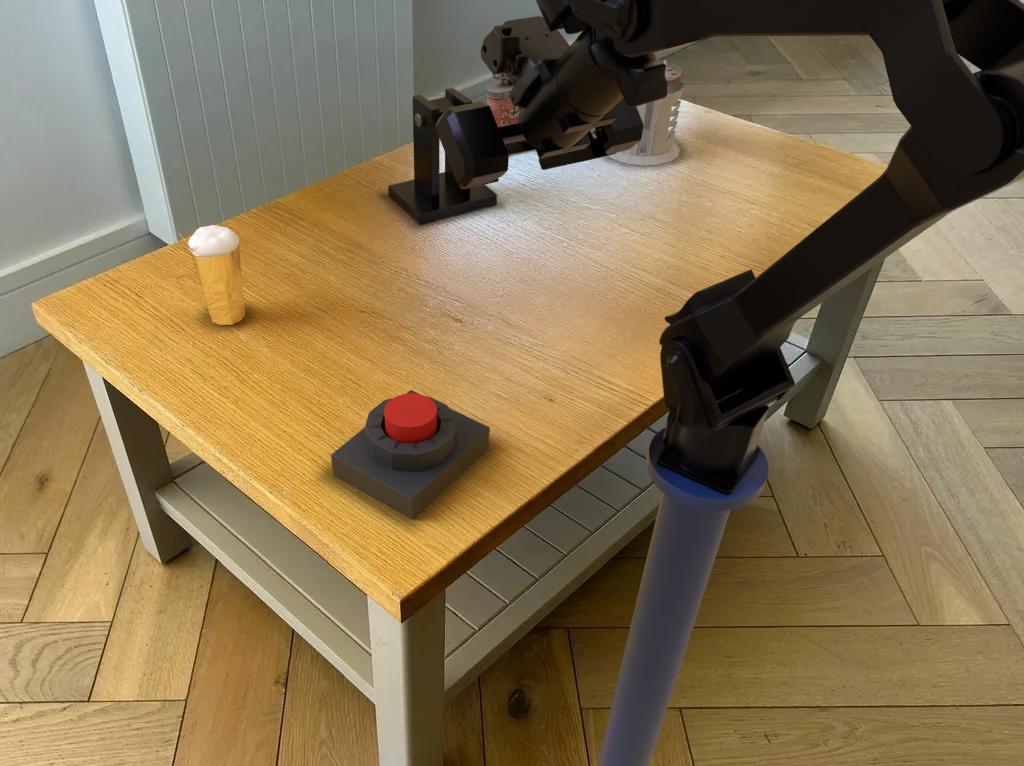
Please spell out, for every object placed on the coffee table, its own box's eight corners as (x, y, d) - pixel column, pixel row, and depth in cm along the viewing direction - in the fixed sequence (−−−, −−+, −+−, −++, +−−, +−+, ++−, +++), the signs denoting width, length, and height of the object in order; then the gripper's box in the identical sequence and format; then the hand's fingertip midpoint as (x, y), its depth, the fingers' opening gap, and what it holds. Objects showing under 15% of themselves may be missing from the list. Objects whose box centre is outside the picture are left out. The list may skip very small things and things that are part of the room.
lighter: (523, 128, 118) (528, 49, 112) (541, 136, 117) (547, 57, 110) (478, 145, 115) (480, 65, 108) (496, 154, 113) (499, 73, 106)
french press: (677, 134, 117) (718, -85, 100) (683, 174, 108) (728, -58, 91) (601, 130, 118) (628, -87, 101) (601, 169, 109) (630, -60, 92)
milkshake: (188, 318, 87) (166, 224, 80) (235, 298, 89) (219, 205, 82) (211, 338, 84) (191, 243, 77) (260, 317, 87) (245, 223, 80)
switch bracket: (497, 204, 103) (501, 102, 95) (419, 225, 100) (417, 120, 92) (462, 177, 108) (464, 77, 100) (388, 195, 105) (384, 94, 97)
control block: (489, 447, 73) (490, 409, 70) (413, 520, 67) (411, 481, 64) (411, 409, 76) (410, 372, 74) (332, 475, 70) (328, 437, 68)
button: (447, 423, 69) (447, 406, 68) (415, 451, 67) (415, 434, 66) (406, 403, 71) (406, 386, 70) (374, 430, 69) (373, 413, 68)
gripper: (641, -24, 74) (551, 81, 89) (448, 2, 67) (384, 112, 81) (691, 99, 74) (592, 184, 88) (502, 139, 66) (427, 225, 81)
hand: (501, 174), depth 85 cm, fingers open, 9 cm apart
